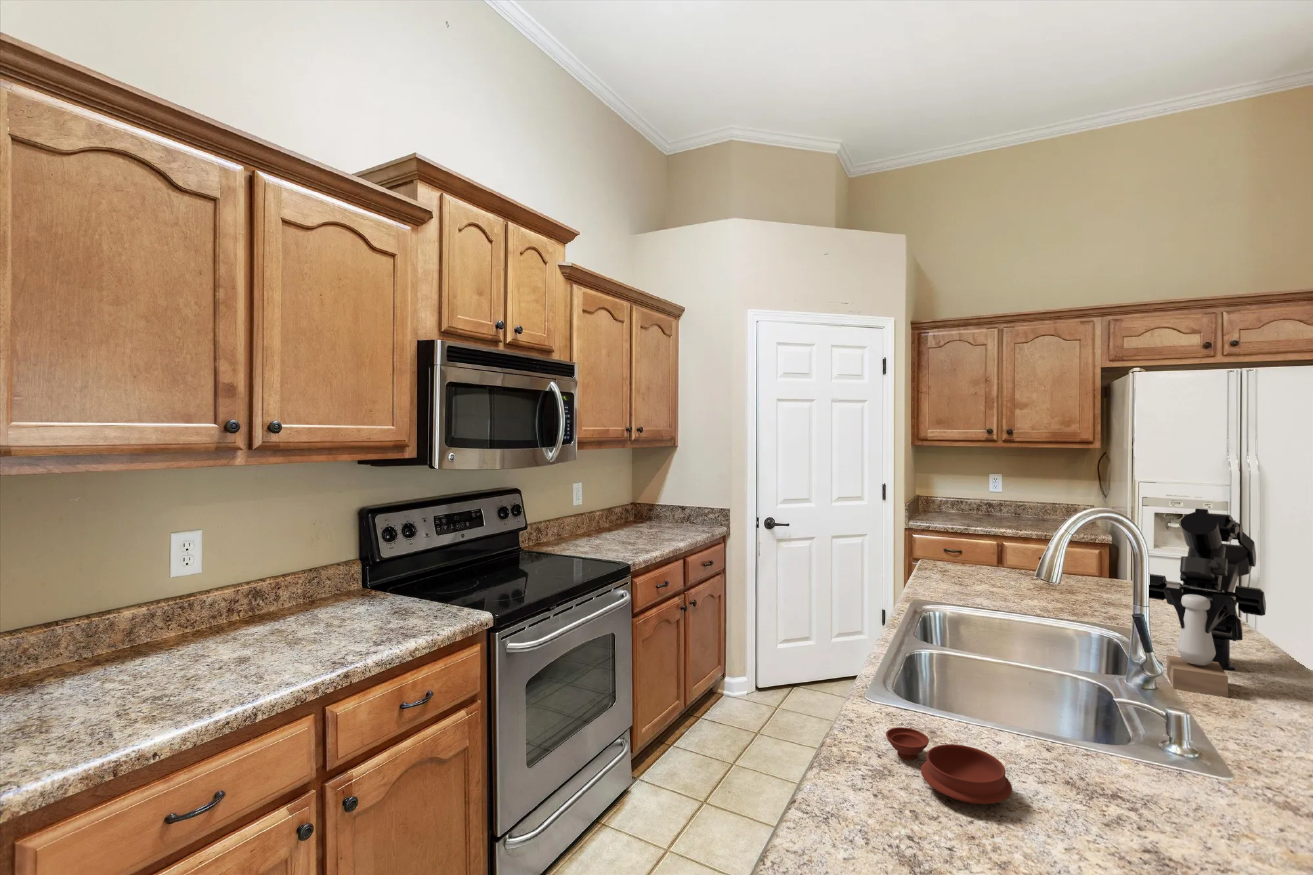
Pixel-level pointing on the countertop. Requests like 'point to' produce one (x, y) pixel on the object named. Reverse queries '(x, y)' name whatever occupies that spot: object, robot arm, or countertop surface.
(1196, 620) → the salt shaker
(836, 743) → the countertop surface
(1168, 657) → the walnut plinth
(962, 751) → the pottery
